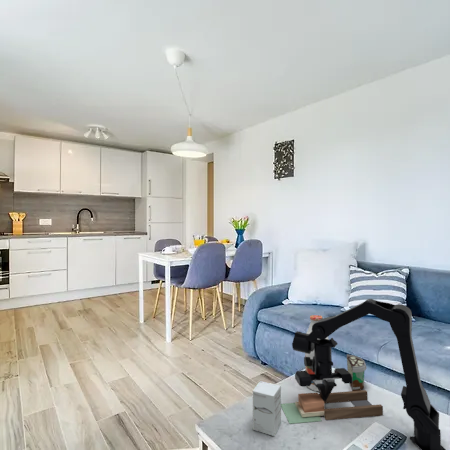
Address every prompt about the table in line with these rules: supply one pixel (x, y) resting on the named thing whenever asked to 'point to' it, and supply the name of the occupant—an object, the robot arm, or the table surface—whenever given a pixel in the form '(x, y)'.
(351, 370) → the food container
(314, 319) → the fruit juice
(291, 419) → the pad
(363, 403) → the trap pit
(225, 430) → the table surface
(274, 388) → the supplement box
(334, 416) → the channel
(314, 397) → the block
